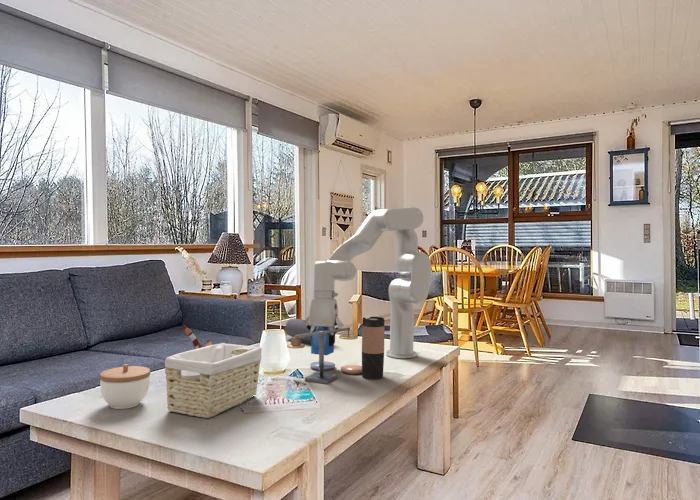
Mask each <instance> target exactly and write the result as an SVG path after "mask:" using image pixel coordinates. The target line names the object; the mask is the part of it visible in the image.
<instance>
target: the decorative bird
mask: <svg viewBox="0 0 700 500" xmlns="http://www.w3.org/2000/svg"><path fill="white" fill-rule="evenodd" d="M182 328H183V329H184V333H185V334H186V335H187V336H188V337H189V339H190V341H191V342H192V346H193V350H194V349H198V348H202V347H206V346H210V345H214V344H213V343H212V341H211V340H210V339H207V340H206V341H207V343H205V345H204V344H203V345H202V344H201V343H200V342H199V340H198V338H197V336H196V335H195V334H194V333H193V330H192V329H191V328H189V327H187V326H186V325H185V324H183V326H182Z"/></svg>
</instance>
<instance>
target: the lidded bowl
mask: <svg viewBox="0 0 700 500" xmlns="http://www.w3.org/2000/svg"><path fill="white" fill-rule="evenodd" d="M99 379H100V381H99V382H100V383H99V385H100V393H101V396H102V398H103V400H104V402H106V404H108V405H109V406H110V408H112V409H115V410H126V409H131V408H134V407H136V406H137V407H138V406H139V405H140V403H141V402H142V401H143V399H144V398H145V397H146V396H147V395H148V391H149V388H150V383H151V382H150V380H151V369H150V368H149V367H146V366H140V365H129V364H128V363H126V364H125V363H124V364H123V366H119V367H113V368H109V369H106V370H103V371H102V372H100V373H99Z"/></svg>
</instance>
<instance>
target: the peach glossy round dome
mask: <svg viewBox="0 0 700 500" xmlns="http://www.w3.org/2000/svg"><path fill="white" fill-rule="evenodd" d="M340 371H341V372H343V373H344V374H349V375H358V374H362V365H359V364H345V365H342V366H340Z"/></svg>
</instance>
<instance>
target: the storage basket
mask: <svg viewBox="0 0 700 500" xmlns="http://www.w3.org/2000/svg"><path fill="white" fill-rule="evenodd" d="M261 360H262V347H259V346H251V345H245V344H244V345H243V344H234V343H233V344H232V343H224V342H222V343H216V344H213V345H210V346H206V347H202V348H198V349H194V348H193V349H191V350H187V351H183V352H180V353H176V354H173V355H170V356H167V357H166V358H165V362H164V367H165V369H164V371H165V379H166V380H165V381H166V385H165V386H166V392H167V393H166V396H167V398H166V399H167V410H168V411H170V412H172V413H176V414H177V413H178V414H181V415H187V416H191V417H197V418H203V419H210V418H213V417H215V416H217V415H219V414H220V413H221V414H222V412H225V411H227V410H228V409H231V408H234V407H236V406H240V405H241V404H243V403H245V402H246V401H248V400H251V399H252V398H251V397H252V396H253V395H256V396H257V391H258V390H257V387H258V383H259V375H260V373H259V372H260V367H261V365H260V364H261V362H262V361H261ZM250 398H251V399H250ZM247 399H248V400H247ZM244 401H245V402H244ZM242 402H243V403H242Z"/></svg>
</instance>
